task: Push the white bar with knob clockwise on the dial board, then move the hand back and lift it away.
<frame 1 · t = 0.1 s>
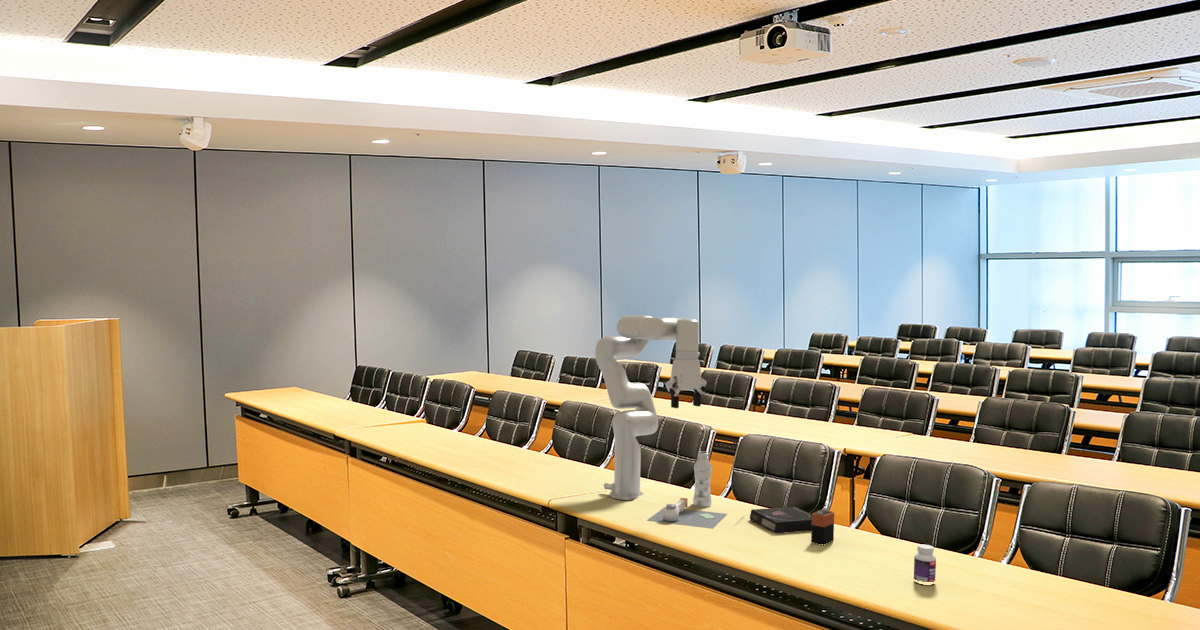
hand: (685, 406, 296), 37 cm above the table, tool pointing down, fingers open, 9 cm apart
white bar with knob: (676, 507, 293), point 4 cm above the table, hinge at 0.0°
portable cd player: (784, 527, 289), on the table
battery: (822, 542, 270), on the table
plastic bottle: (702, 509, 308), on the table
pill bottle: (924, 583, 234), on the table
dial board: (687, 521, 291), on the table
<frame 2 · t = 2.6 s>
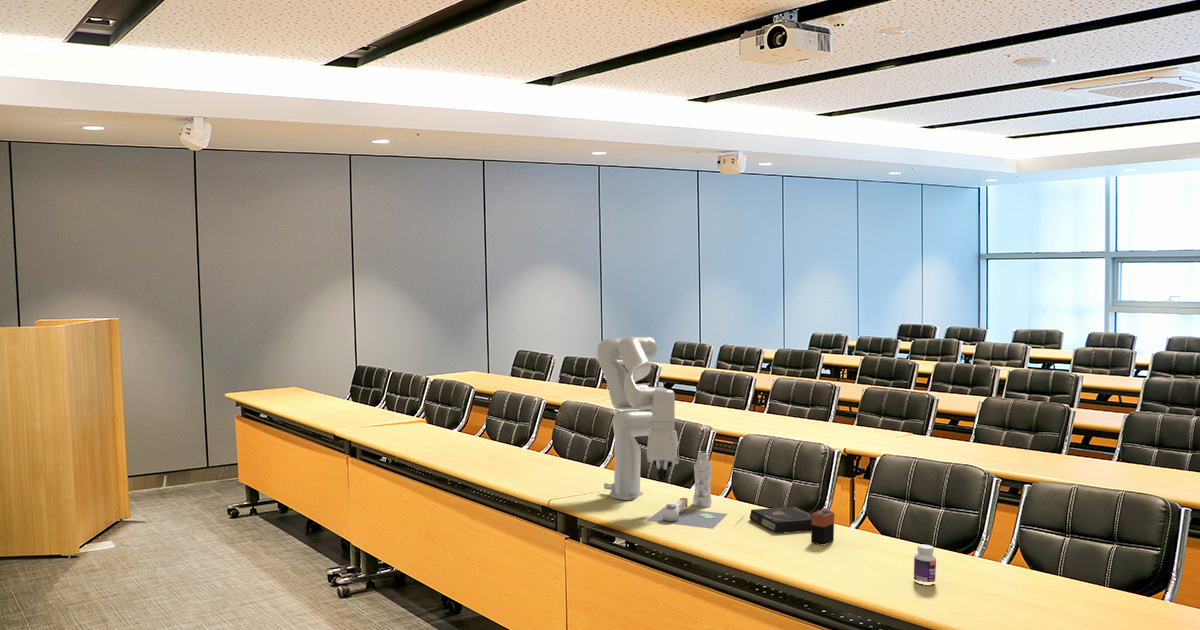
hand: (662, 480, 297), 12 cm above the table, tool pointing down, fingers closed
nothing on the table moved.
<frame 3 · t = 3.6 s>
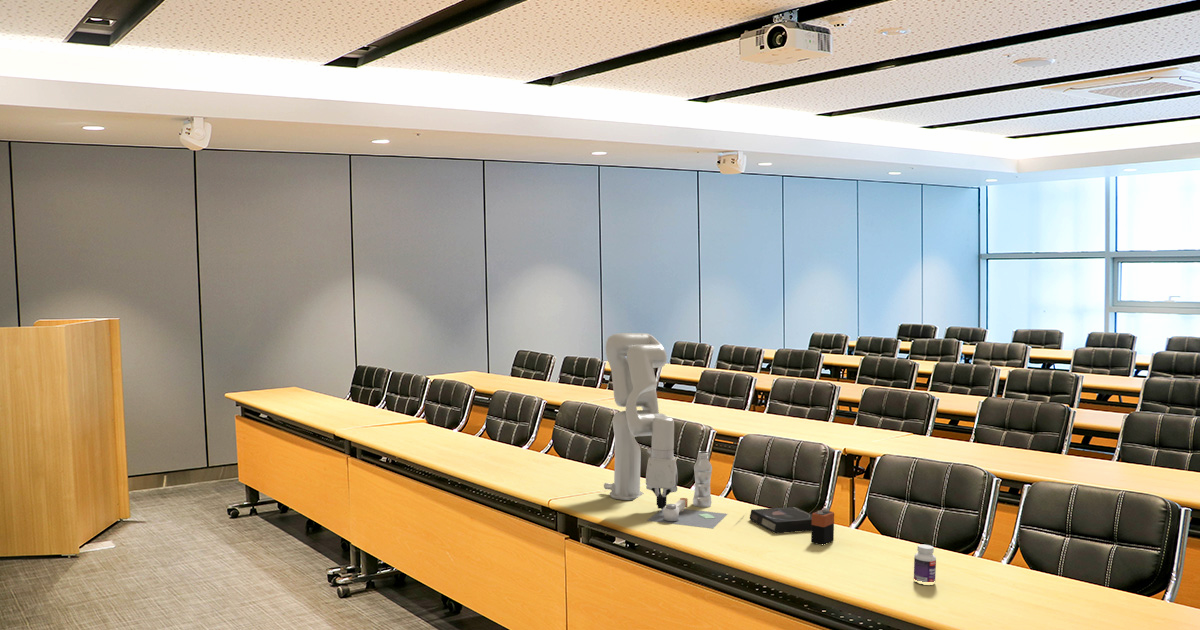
hand: (661, 507, 298), 3 cm above the table, tool pointing down, fingers closed
nothing on the table moved.
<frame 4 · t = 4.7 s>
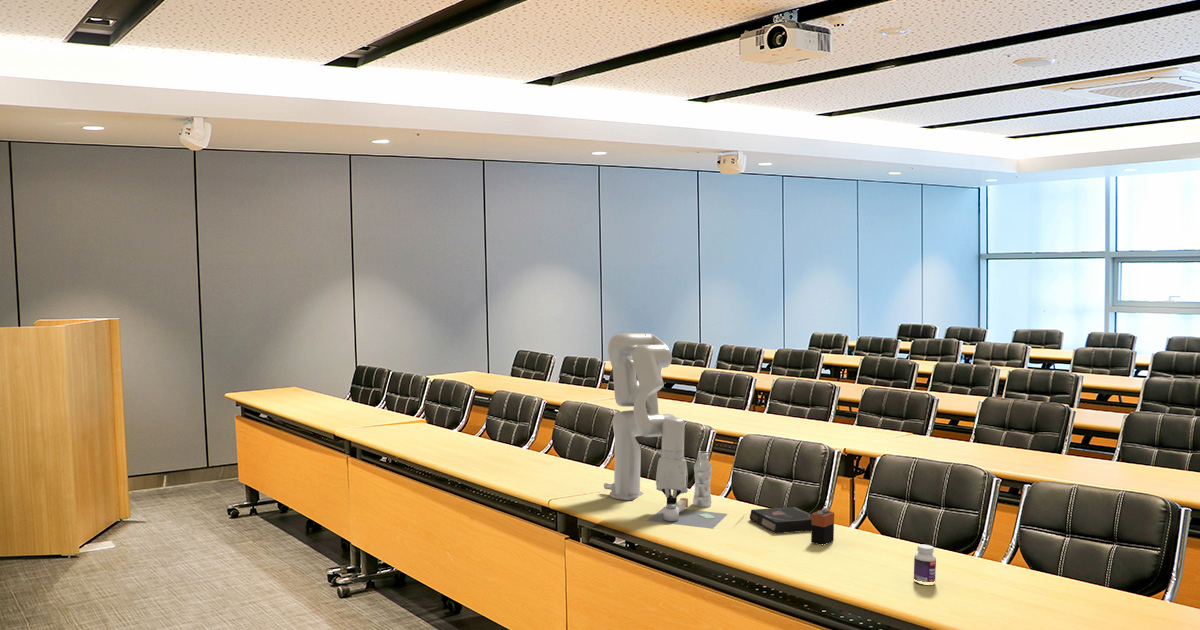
hand: (671, 508, 297), 3 cm above the table, tool pointing down, fingers closed
white bar with knob: (677, 507, 293), point 4 cm above the table, hinge at 0.7°, touching gripper
everything else where it was.
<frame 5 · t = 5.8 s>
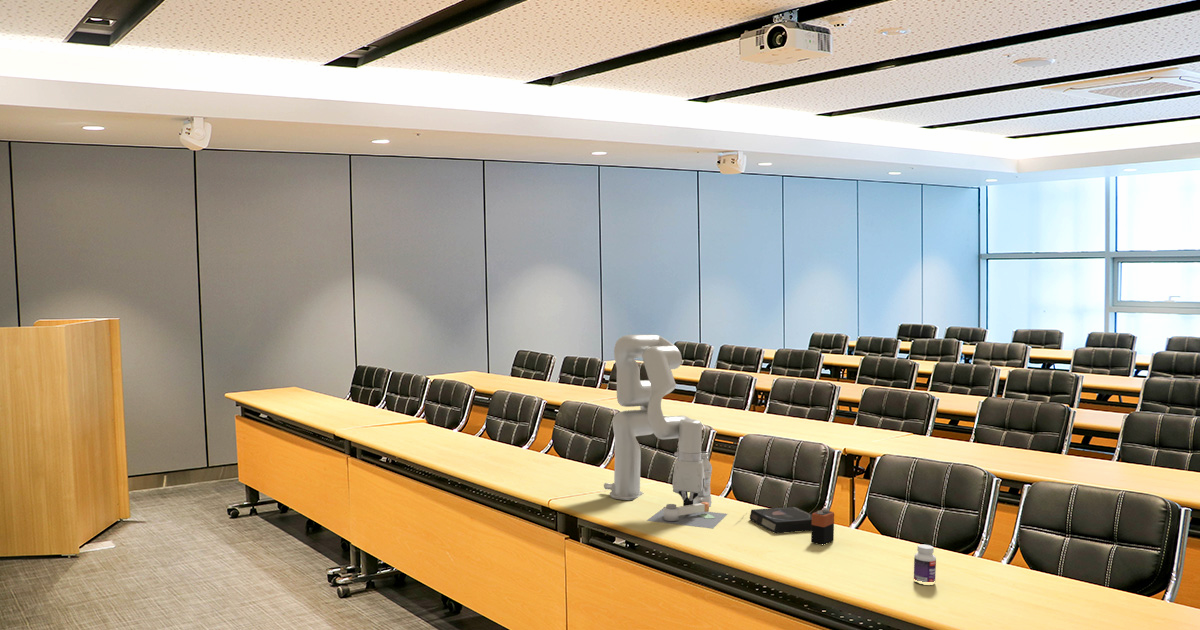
hand: (688, 511, 295), 2 cm above the table, tool pointing down, fingers closed
white bar with knob: (686, 509, 290), point 4 cm above the table, hinge at 34.1°, touching gripper
everything else where it was.
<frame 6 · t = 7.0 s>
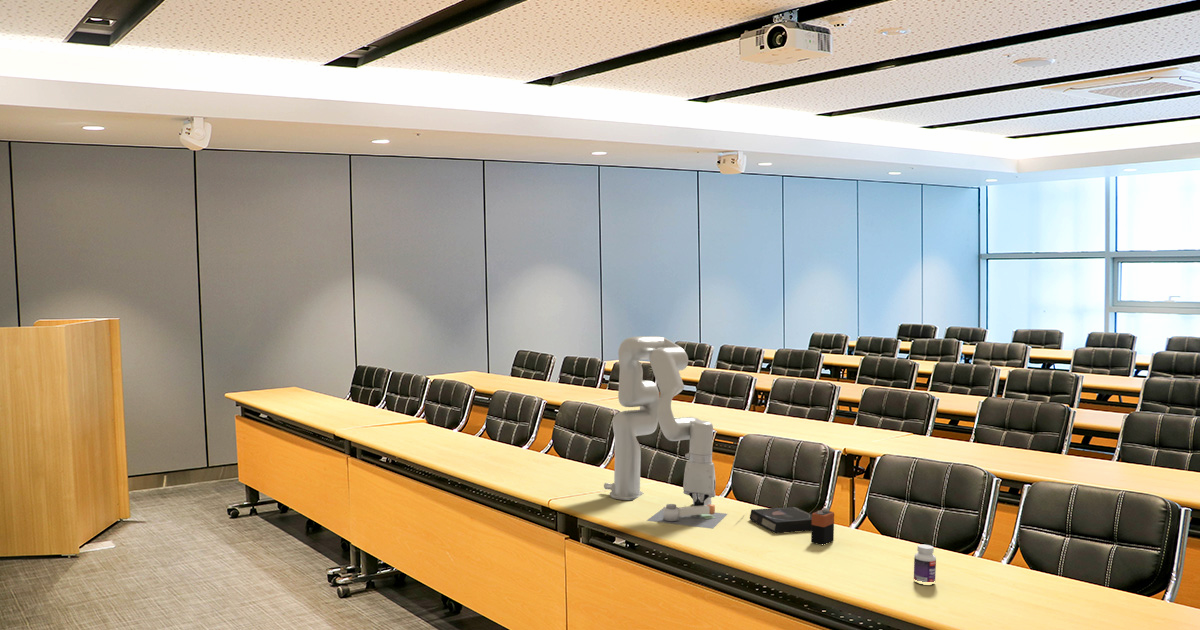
hand: (698, 512, 294), 2 cm above the table, tool pointing down, fingers closed
white bar with knob: (689, 510, 289), point 4 cm above the table, hinge at 47.5°, touching gripper
everything else where it was.
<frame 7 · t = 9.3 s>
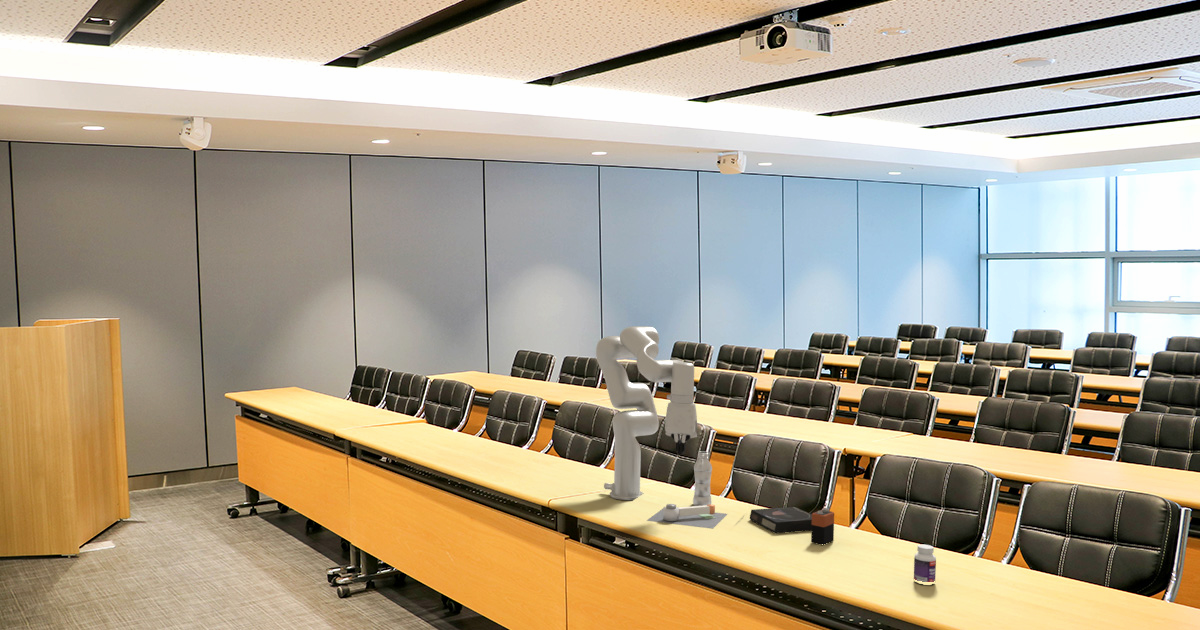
hand: (680, 453, 296), 21 cm above the table, tool pointing down, fingers closed
white bar with knob: (689, 510, 289), point 4 cm above the table, hinge at 47.9°
everything else where it was.
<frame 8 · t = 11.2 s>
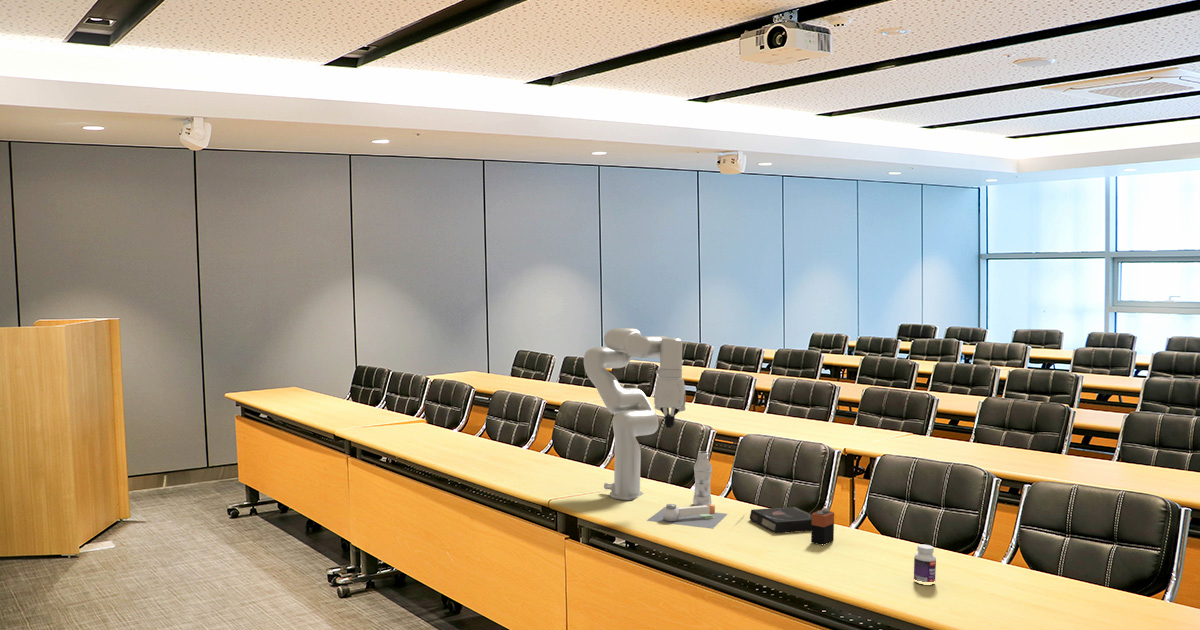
hand: (669, 427, 303), 29 cm above the table, tool pointing down, fingers closed
nothing on the table moved.
at the end: white bar with knob at +48° (first picture: +0°); plastic bottle moved 0.2 cm from its start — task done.
